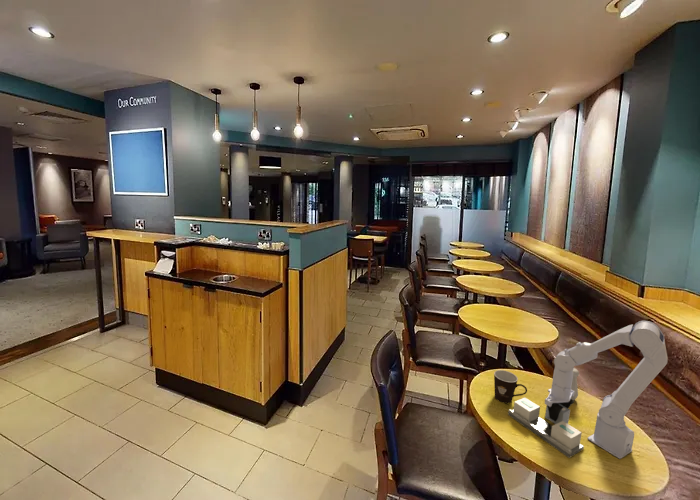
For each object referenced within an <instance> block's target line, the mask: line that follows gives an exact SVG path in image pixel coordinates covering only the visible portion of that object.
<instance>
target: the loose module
mask: <svg viewBox="0 0 700 500" xmlns="http://www.w3.org/2000/svg"><path fill="white" fill-rule="evenodd" d="M559 405H560V406H562V407H563V408H562V410H561V411H560V413H559V415H558V419H557V420H556V421H554V420H552V419H551V418H550V416H549V411H548V407H547V405H545V406H546V407H545V414H544V418H545V419H547V420H548V421H550V422H551V423H553V425H555V424H557V423H559V422H561V421H564V422H566V423H567V424H569V419H570V413H571V409H570V408H566V407H564V406H563V405H561V404H559Z"/></svg>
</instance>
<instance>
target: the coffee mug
mask: <svg viewBox="0 0 700 500" xmlns="http://www.w3.org/2000/svg"><path fill="white" fill-rule="evenodd" d="M493 376H494V378H493V381H494V386H493V388H494V398H495V399H496V400H497V401H499V402H500V403H503V404H511V403H512V402H513V398H515V397H519V396H520V397H521V396H524V395H526V394H527V393H528V388H527V387H526V386H525V385H524V384H522V383H518V380H519V378H518V376H517V375H516V374H514V373H513V372H512V371H511V372H510V371H508V370H504V369H499V370H498V369H497V370H495V371H494V373H493ZM519 386H520V387H523V389H524V390H525V392H523V393H518V394H517V393H516V394H515V390H516V388H517V387H519Z"/></svg>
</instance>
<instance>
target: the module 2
mask: <svg viewBox="0 0 700 500" xmlns="http://www.w3.org/2000/svg"><path fill="white" fill-rule="evenodd" d="M582 433H583V432H582V431H580V430H579V429H576V428H575V427H574V426H571V424H569V423H568V424H567V423H566V422H564V421H561V422H559V423H557V424H553V425H552V430H551V437H552V438H553V439H555V440H556V441H558V442H559V443H561V444H562V445H564V446H565V447H567V448H568V449H570V450H571V449H573V448H575V447H576V446H578V445H580V444H581V438H582Z"/></svg>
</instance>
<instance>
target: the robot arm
mask: <svg viewBox="0 0 700 500" xmlns="http://www.w3.org/2000/svg"><path fill="white" fill-rule="evenodd" d="M619 345H625V346H629V347H634V345H635V347H636V348H637V349H639V350H640V352H641V354H642V356H643V358H642V359H641V360H640V361H639V363H638V364H637V365H636V366H635V368H634V369H633V370H631V373H629V374H628V376H627V377H626V378H625V379H624V380H623V382H622V383H621V384H620V385H619V386H618V388H616V390H614V391H613V392H612V393H611V394H608V395H605V396H604V397H603V399H602V402H601V406H600V408H599V409H598V412H597V416H596V420H595V421H596V422H595V426H594V432H593V434H591V435H589V436H588V437H587V440H589V441H590V442H592V443H594V444H595V445H597V446H598V447H600V448H602V449H603V450H605V451H606V452H608V453H609V454H610V455H612V456H614V457H615V458H618V460H621V459H622V458H624V457H626V456H628V455H629V454H630V453H631V452H633V444H634V440H635V431H633V430H632V429H631V428H629V426H627V425H626V421H625V416H626V414H627V413H628V411H629V409H630V407H631V406H632V405H633V403H634V402H635V401H636V399H638V397H639V396H640V395H641V394H642V393H643V392H644V391H645V390H646V388H647V387H648V386H649V385H650V383H652V382H653V380H654V379H655V378H656V377H657V376H658V375H659V373H660V372H661V371H662V370H663V369H664V368H665V366H666V365H667V364H668V352H667V348H666V340H665V335H664V333H663V332H662V330H661V329H660V327H659V326H658V325H657V324H656V323H654V322H652V321H648V320H640V321H638V322H635V324H629V325H627V326H624V327H621V328H620V329H617V330H616V331H613V332H612V333H609V334H608V335H606V336H603V337H602V338H600V339H598V340H596V341H593V342H591V343H590V342H587V341H584V342H581V341H579V342H577V343H576V344H575V346H573V347H571V348H570V347H569V348H565V349H563V350H562V351H559V352H558V354H556V356H555V358H554V360H553V364H554V370H553V376H552V382H551V383H552V384H551V388H548V390H547V392H548V396H547V397H546V398H545V399H544V404H545V406H547V407H548V411H549V416H550V418H551V419H552V420H554V421H556V420H557V419H558V415H559V413H560V411H561V410H562V408H563V407H562V406H560V405H559V404H561V405H563V406H564V407H566V408H568V409H570V407H571V406H572V405H573V404H574V401H575V400H574V401H573V400H572V399H571V397H572V396H574V391H573V390H571V386H572V380H573V369H574V368H575V367H576V366H581V365H583V364H586V363H588V362H591V361H593V360H595V359H597V358H598V356H599V355H598V353H601V352H604V351H606V350H609V349H612V348H614V347H617V346H619Z"/></svg>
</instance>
